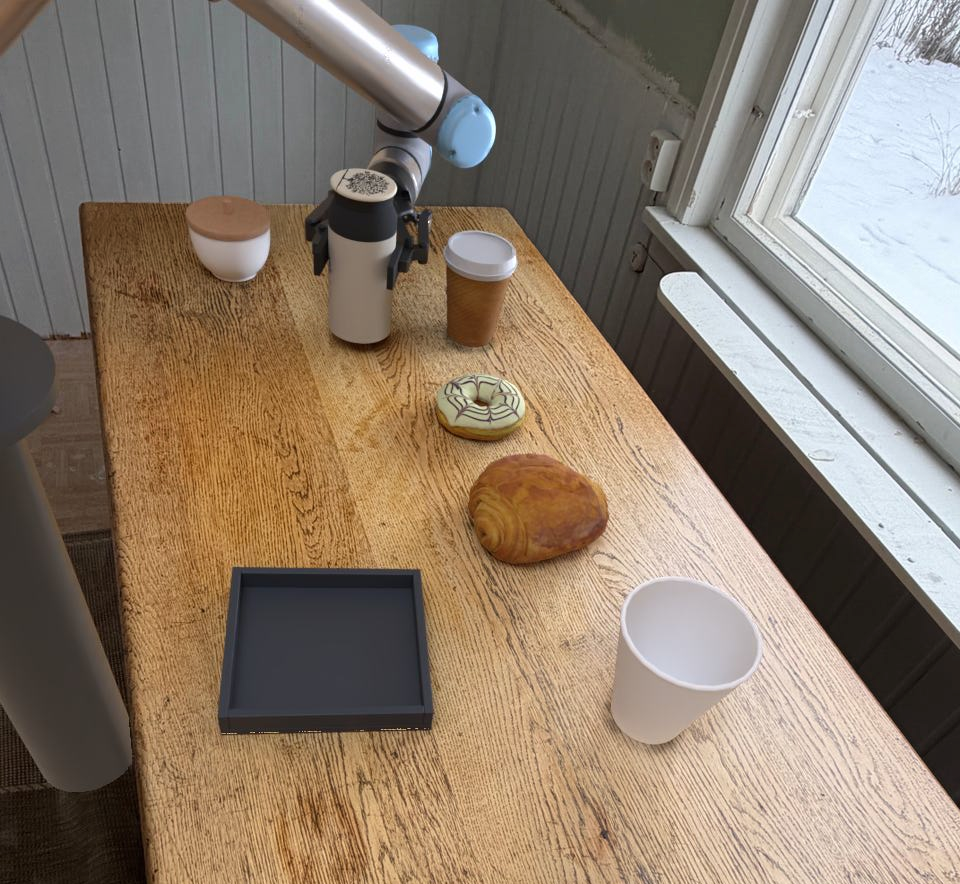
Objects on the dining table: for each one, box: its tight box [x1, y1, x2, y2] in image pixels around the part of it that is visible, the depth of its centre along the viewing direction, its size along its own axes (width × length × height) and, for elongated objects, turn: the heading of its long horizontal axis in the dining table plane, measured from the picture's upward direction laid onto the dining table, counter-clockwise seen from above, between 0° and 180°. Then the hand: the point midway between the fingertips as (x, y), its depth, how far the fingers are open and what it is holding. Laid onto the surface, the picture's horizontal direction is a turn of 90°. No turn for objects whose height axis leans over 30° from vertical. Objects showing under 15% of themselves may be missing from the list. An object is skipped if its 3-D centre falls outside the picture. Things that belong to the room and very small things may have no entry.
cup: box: [610, 575, 763, 746], centre depth 70 cm, size 12×12×12 cm
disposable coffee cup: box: [442, 229, 518, 347], centre depth 106 cm, size 10×10×12 cm
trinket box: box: [185, 195, 271, 283], centre depth 108 cm, size 11×11×9 cm
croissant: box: [467, 453, 610, 565], centre depth 86 cm, size 14×16×8 cm
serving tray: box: [216, 566, 435, 736], centre depth 73 cm, size 18×17×3 cm
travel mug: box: [327, 168, 397, 345], centre depth 98 cm, size 8×8×18 cm
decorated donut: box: [435, 373, 526, 441], centre depth 97 cm, size 10×11×4 cm
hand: (353, 271), depth 94 cm, fingers closed on travel mug, 8 cm apart
